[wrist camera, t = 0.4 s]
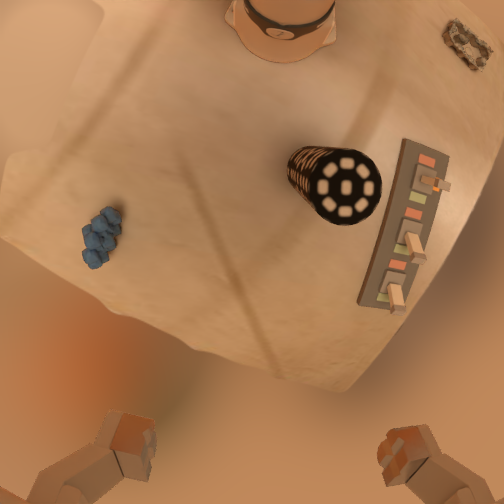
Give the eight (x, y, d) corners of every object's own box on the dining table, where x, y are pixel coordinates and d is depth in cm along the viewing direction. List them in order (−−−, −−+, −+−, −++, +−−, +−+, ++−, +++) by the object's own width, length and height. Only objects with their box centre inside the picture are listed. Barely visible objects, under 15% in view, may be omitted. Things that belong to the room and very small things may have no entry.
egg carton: (484, 55, 41) (495, 52, 37) (473, 76, 43) (485, 74, 39) (450, 18, 39) (461, 13, 35) (437, 38, 41) (448, 33, 37)
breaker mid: (407, 231, 50) (414, 257, 47) (418, 234, 51) (426, 259, 47) (403, 236, 52) (410, 262, 48) (414, 239, 52) (422, 264, 48)
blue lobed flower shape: (105, 190, 51) (72, 204, 40) (137, 204, 52) (109, 221, 41) (89, 246, 55) (58, 270, 44) (119, 260, 56) (91, 288, 45)
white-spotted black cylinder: (335, 195, 52) (379, 225, 33) (286, 195, 52) (307, 225, 33) (336, 147, 49) (383, 151, 30) (286, 145, 49) (308, 146, 30)
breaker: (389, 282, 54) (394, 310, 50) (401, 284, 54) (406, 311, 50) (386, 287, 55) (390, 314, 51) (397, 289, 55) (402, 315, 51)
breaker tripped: (421, 174, 47) (439, 179, 42) (433, 178, 48) (451, 183, 42) (419, 182, 48) (437, 187, 42) (431, 186, 48) (449, 191, 42)
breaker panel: (403, 138, 48) (409, 138, 46) (445, 155, 49) (452, 156, 47) (356, 301, 59) (360, 307, 56) (398, 307, 59) (403, 313, 57)
